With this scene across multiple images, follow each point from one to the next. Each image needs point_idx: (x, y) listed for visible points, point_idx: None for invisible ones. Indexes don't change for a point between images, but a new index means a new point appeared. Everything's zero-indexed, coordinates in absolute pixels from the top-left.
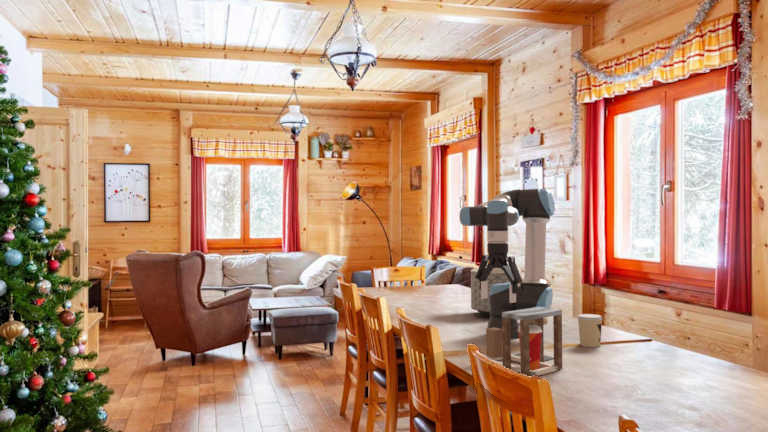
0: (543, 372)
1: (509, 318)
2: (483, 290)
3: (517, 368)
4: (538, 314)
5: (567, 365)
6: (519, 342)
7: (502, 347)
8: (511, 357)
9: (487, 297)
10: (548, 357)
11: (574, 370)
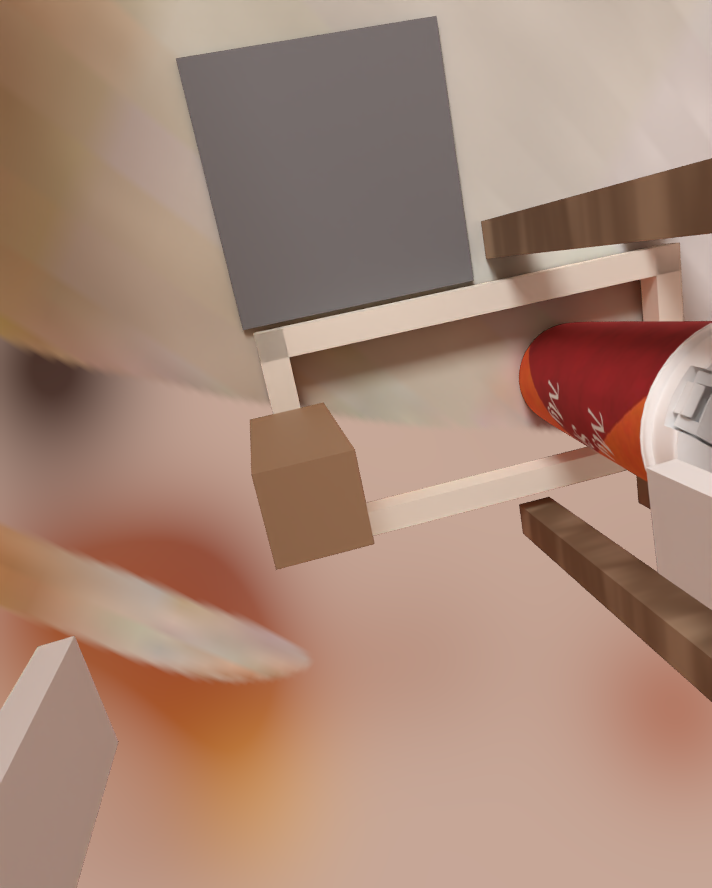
0: None
1: None
2: (73, 850)
3: (586, 479)
4: None
5: (600, 80)
6: (623, 467)
7: (597, 598)
8: (347, 343)
9: (70, 646)
10: (401, 46)
11: (698, 135)
